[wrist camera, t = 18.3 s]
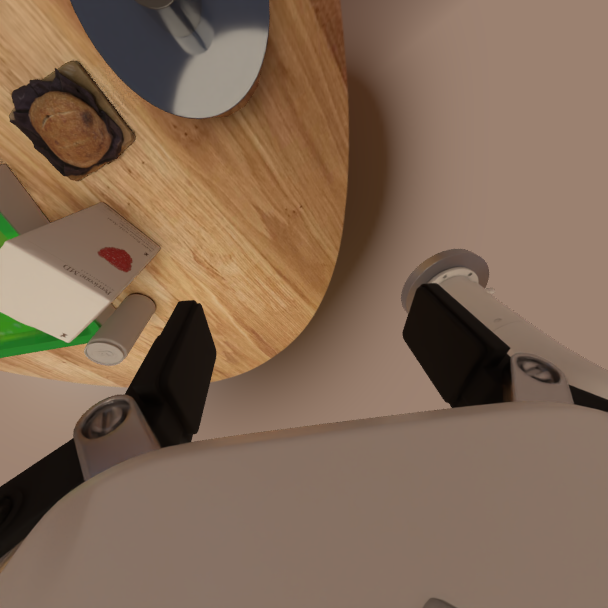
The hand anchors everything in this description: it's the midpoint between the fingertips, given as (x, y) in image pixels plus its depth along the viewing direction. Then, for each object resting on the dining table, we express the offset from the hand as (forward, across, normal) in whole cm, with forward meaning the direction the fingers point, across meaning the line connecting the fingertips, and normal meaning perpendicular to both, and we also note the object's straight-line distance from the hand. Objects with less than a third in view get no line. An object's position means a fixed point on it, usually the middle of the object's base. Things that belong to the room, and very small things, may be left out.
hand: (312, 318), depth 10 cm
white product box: (+29, +25, +6) cm, 39 cm away
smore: (+29, +23, -8) cm, 38 cm away
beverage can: (+29, +26, +17) cm, 43 cm away
